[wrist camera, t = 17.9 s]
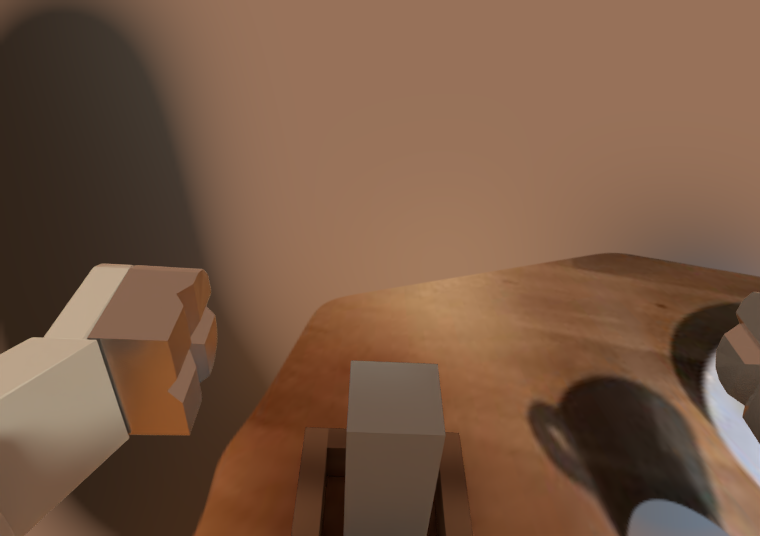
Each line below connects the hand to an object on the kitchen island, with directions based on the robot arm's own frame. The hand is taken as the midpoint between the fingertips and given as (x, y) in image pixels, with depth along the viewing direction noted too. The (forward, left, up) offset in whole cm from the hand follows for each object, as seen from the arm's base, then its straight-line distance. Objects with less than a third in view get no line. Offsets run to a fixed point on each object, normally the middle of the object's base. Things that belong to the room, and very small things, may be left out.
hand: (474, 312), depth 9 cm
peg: (-10, -7, -28) cm, 30 cm away
